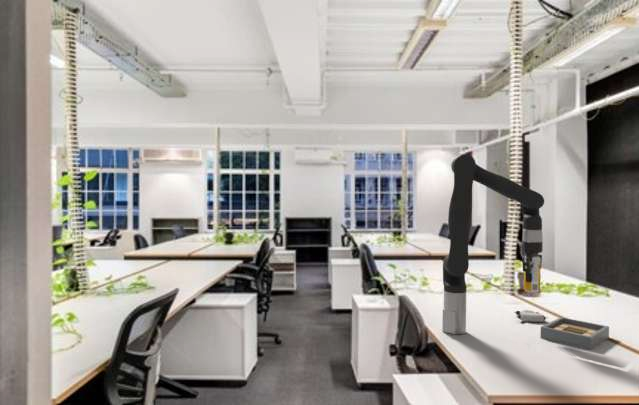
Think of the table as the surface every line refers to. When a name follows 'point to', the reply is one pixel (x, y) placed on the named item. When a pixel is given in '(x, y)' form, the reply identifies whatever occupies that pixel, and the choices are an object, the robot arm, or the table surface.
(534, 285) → the beer can
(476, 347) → the table surface
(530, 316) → the robot toy
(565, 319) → the open-top box
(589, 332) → the plate
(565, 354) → the table surface
